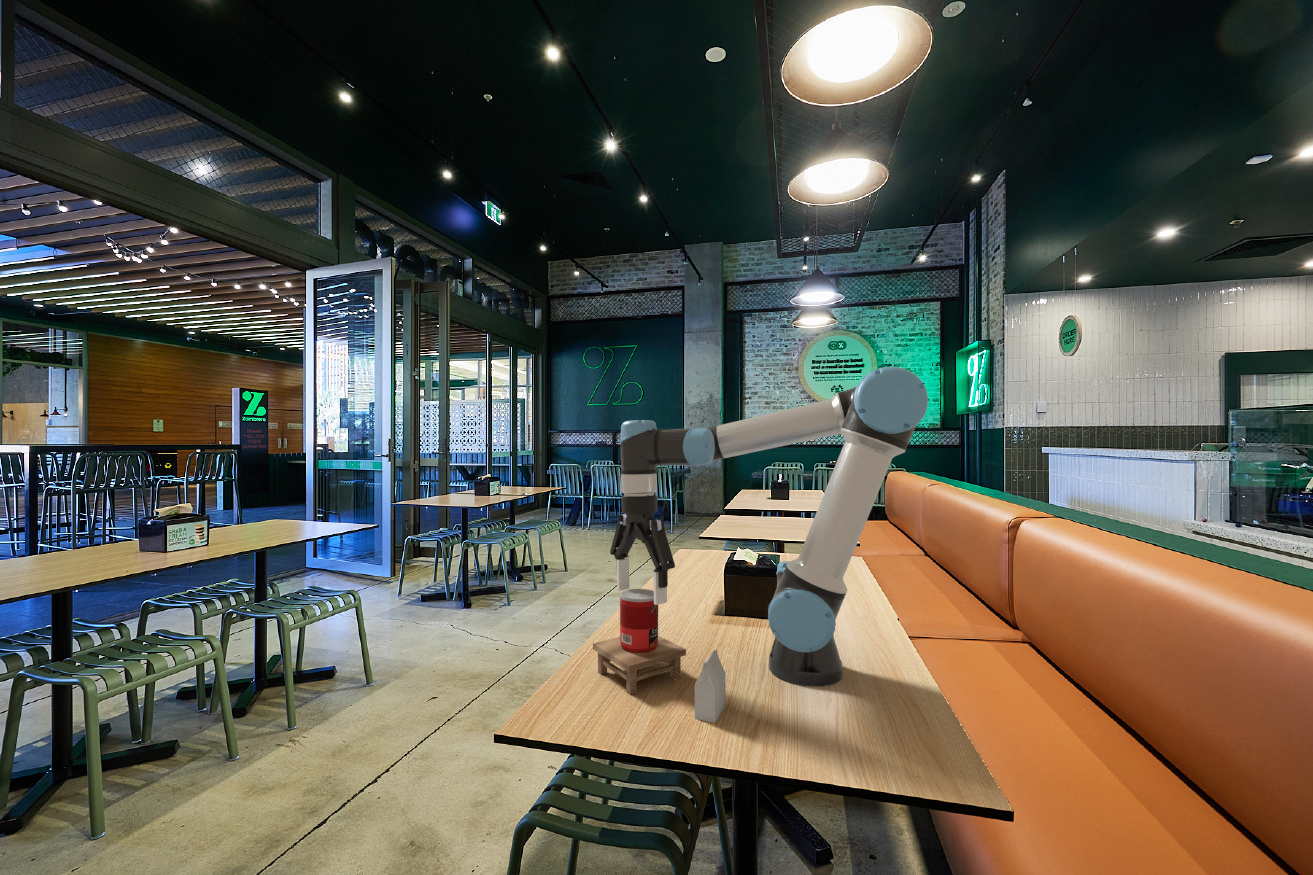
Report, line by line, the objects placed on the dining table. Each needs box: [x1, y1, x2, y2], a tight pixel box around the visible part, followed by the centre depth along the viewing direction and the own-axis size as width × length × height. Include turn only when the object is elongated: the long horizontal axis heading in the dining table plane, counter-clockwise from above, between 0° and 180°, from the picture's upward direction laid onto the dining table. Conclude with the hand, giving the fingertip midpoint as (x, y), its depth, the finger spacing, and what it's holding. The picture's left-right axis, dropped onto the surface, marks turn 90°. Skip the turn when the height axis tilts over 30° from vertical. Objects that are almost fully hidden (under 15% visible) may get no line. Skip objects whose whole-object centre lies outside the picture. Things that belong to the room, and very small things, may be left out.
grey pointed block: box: [694, 649, 727, 724], centre depth 95 cm, size 4×7×10 cm, turn 157°
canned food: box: [619, 588, 659, 653], centre depth 110 cm, size 8×8×11 cm
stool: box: [592, 635, 687, 695], centre depth 110 cm, size 14×14×6 cm
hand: (641, 596), depth 110 cm, fingers open, 13 cm apart
